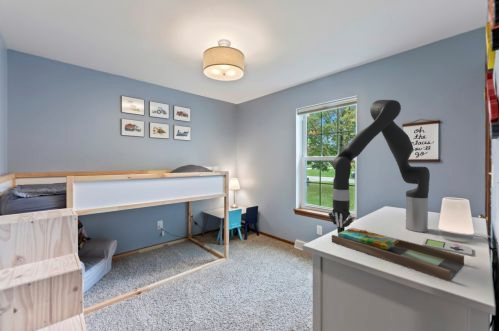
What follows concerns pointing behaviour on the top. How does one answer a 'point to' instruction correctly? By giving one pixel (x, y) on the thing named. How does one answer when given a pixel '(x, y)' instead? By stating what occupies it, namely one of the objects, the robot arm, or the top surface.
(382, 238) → the puzzle game
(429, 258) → the channel
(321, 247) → the top surface
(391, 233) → the top surface
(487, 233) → the top surface
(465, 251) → the handheld gaming console
